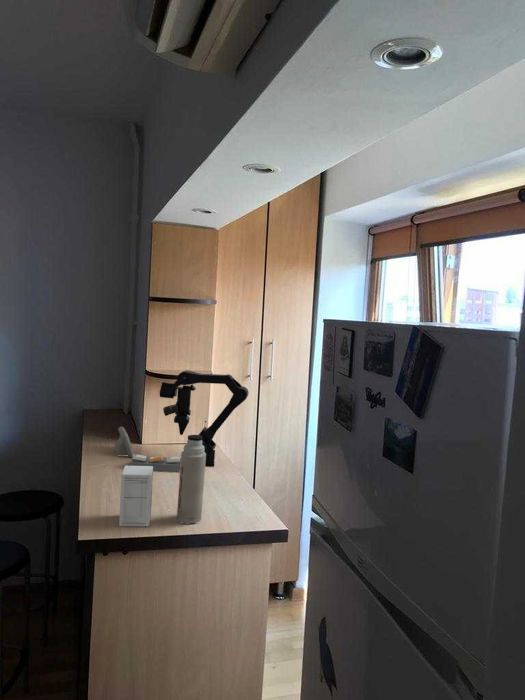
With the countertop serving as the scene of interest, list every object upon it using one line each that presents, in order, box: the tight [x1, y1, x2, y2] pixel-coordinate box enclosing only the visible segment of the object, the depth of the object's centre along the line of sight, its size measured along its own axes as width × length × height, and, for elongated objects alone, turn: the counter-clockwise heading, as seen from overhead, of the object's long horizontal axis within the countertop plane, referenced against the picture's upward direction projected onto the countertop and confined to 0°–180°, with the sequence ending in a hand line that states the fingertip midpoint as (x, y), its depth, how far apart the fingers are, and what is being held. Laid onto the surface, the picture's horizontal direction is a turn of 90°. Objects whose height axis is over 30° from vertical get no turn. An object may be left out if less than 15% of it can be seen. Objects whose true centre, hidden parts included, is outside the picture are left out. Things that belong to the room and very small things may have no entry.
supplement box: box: [118, 465, 154, 528], centre depth 176 cm, size 10×9×17 cm
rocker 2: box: [166, 455, 181, 462], centre depth 229 cm, size 5×3×1 cm, turn 95°
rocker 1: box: [131, 453, 146, 461], centre depth 228 cm, size 5×3×1 cm, turn 95°
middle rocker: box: [149, 454, 164, 462], centre depth 229 cm, size 5×3×1 cm, turn 94°
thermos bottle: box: [176, 434, 206, 524], centre depth 180 cm, size 8×8×28 cm
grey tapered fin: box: [114, 426, 135, 458], centre depth 247 cm, size 16×9×11 cm, turn 11°
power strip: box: [130, 455, 181, 474], centre depth 231 cm, size 20×10×3 cm, turn 95°
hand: (181, 434), depth 241 cm, fingers closed
